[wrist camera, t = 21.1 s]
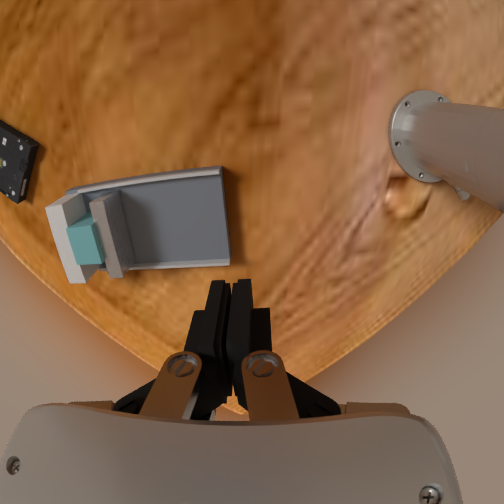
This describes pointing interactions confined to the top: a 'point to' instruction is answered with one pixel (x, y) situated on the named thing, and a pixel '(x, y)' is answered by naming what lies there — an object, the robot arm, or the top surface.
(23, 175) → the disk drive
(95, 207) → the block
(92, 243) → the teal block
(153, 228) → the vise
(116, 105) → the top surface
